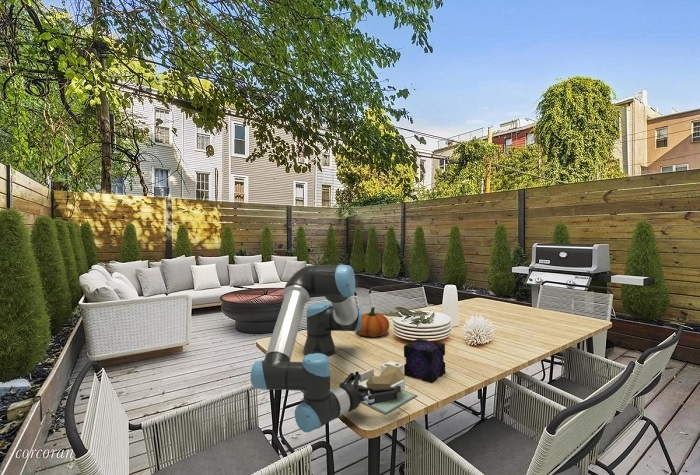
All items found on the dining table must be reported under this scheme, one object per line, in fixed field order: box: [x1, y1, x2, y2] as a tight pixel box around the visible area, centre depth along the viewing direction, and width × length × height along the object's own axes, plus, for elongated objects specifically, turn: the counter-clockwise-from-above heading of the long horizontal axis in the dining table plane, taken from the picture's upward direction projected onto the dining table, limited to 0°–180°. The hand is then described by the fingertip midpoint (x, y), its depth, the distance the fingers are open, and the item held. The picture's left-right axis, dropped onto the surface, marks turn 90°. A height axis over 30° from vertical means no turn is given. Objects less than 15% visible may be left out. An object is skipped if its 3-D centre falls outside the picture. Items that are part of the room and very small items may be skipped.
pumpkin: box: [356, 307, 390, 338], centre depth 193 cm, size 19×19×15 cm
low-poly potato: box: [366, 364, 405, 395], centre depth 119 cm, size 15×11×12 cm
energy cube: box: [403, 338, 446, 384], centre depth 137 cm, size 12×12×12 cm
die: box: [380, 360, 404, 375], centre depth 132 cm, size 6×6×6 cm
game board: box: [333, 379, 418, 416], centre depth 122 cm, size 25×17×1 cm
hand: (387, 377), depth 118 cm, fingers open, 13 cm apart
